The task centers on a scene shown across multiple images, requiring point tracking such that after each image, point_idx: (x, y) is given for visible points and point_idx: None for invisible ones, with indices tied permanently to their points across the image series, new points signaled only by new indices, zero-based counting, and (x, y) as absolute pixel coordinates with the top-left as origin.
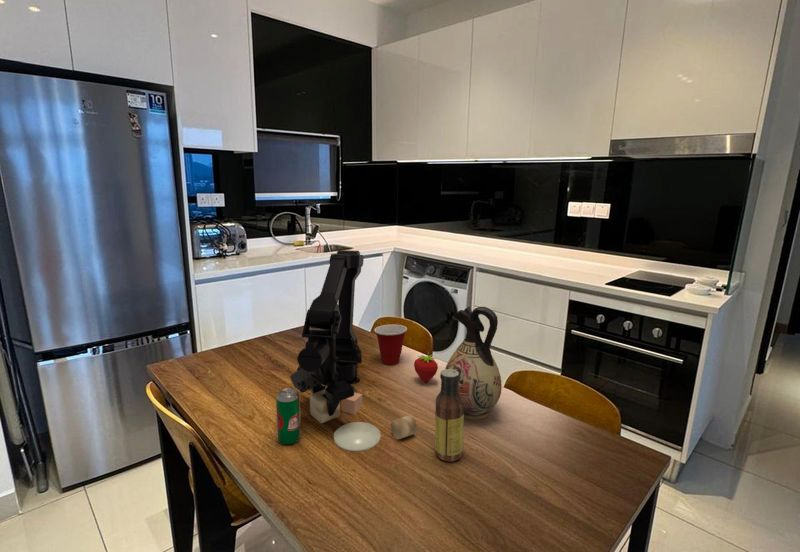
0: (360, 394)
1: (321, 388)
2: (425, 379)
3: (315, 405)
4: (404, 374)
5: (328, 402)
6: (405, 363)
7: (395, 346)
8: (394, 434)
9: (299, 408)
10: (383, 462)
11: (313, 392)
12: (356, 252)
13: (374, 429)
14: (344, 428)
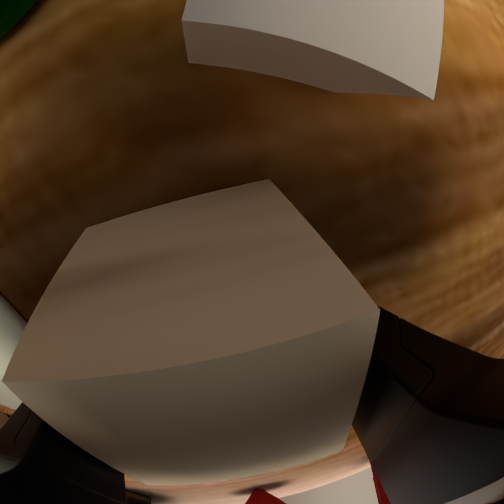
0: (206, 483)
1: (372, 435)
2: (249, 501)
3: (152, 281)
4: (320, 470)
5: (5, 435)
6: (358, 463)
7: (382, 498)
8: (1, 420)
9: (186, 17)
10: None
11: (398, 352)
12: None
13: (17, 404)
14: (5, 333)
